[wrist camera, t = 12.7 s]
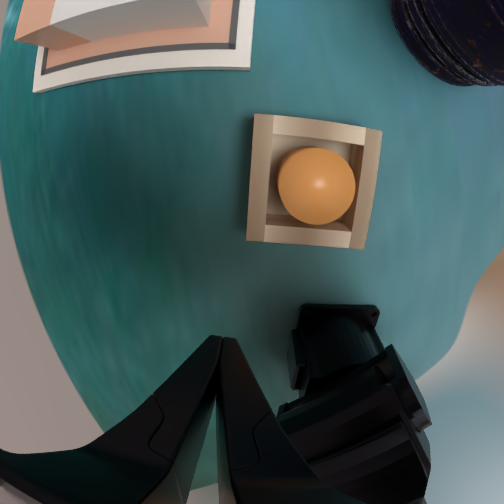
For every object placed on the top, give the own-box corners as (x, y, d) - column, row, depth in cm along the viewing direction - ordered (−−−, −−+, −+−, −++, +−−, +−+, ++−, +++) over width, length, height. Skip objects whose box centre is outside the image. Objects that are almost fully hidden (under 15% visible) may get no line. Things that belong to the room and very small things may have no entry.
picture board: (259, -48, 12) (260, -56, 11) (250, 70, 16) (249, 66, 14) (59, -14, 12) (52, -18, 10) (40, 92, 15) (31, 92, 14)
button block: (364, 130, 17) (382, 131, 14) (350, 232, 20) (363, 249, 17) (254, 116, 17) (254, 113, 14) (247, 224, 20) (245, 240, 17)
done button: (344, 150, 17) (360, 154, 14) (335, 212, 18) (349, 227, 15) (278, 142, 17) (282, 144, 14) (273, 207, 18) (275, 221, 15)
